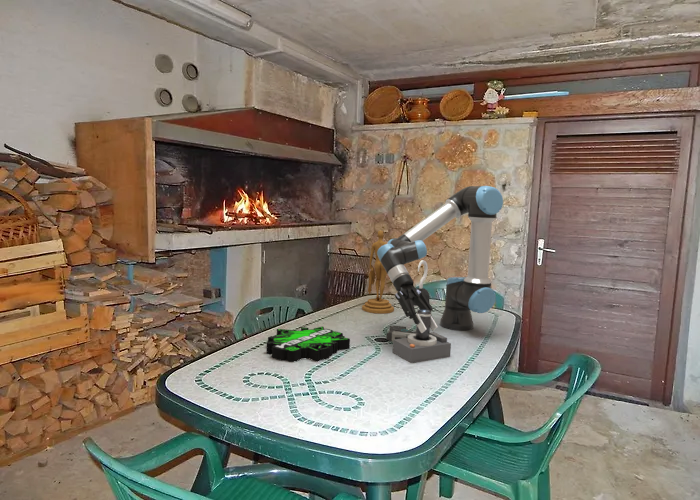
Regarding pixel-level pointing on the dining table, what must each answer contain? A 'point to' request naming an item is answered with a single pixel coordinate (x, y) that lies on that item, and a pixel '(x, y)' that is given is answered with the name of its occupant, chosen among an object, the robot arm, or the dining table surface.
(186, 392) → the dining table surface
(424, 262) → the hook
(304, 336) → the sign
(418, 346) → the camera body
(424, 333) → the lens
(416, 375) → the dining table surface
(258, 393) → the dining table surface
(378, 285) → the statue
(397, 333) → the handgun
